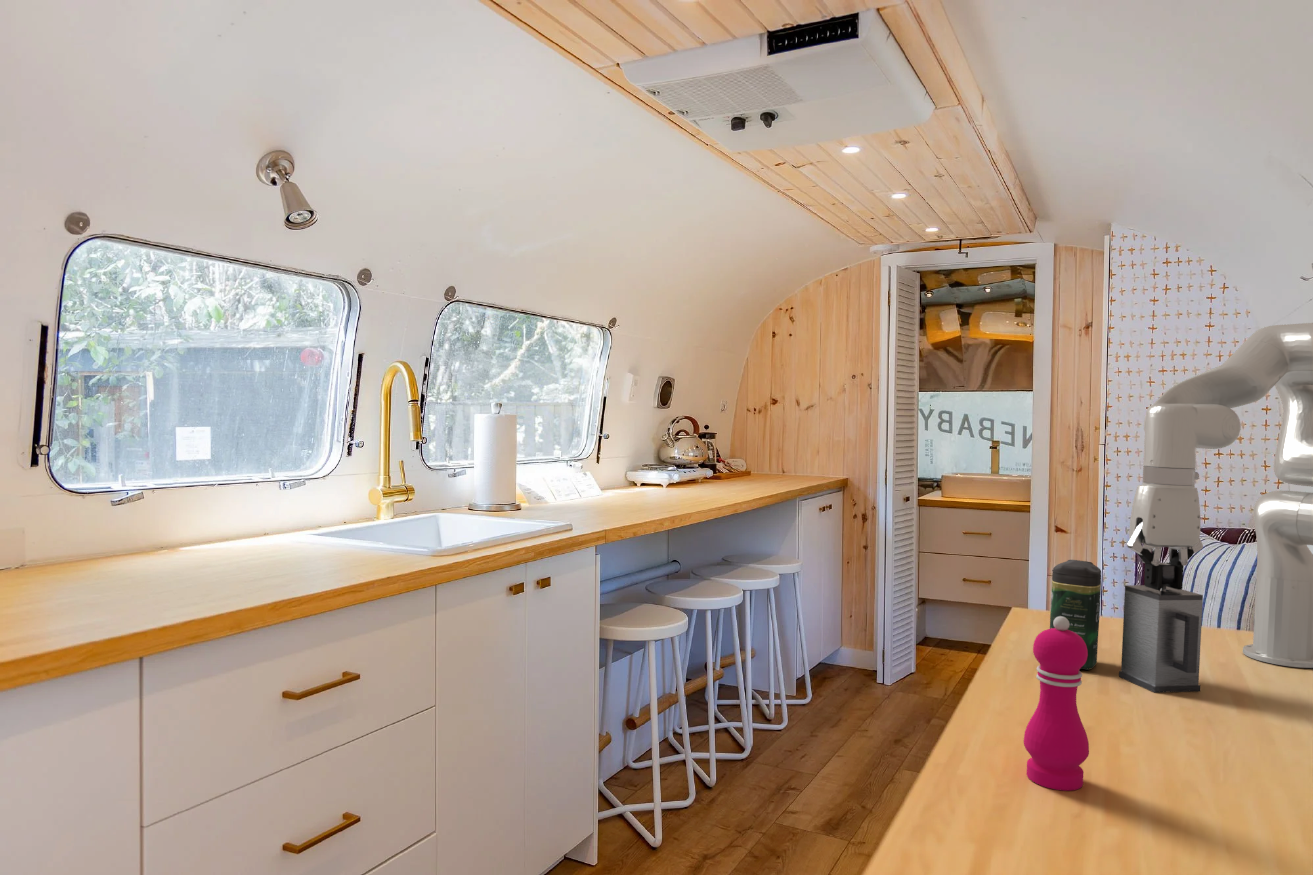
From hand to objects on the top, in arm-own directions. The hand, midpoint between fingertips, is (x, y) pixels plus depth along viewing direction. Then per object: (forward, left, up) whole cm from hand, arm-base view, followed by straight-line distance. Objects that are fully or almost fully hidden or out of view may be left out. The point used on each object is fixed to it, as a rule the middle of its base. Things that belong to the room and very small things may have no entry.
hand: (1163, 586), depth 146 cm
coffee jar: (+7, -12, -17) cm, 22 cm away
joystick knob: (0, 0, -10) cm, 10 cm away
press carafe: (0, +1, -16) cm, 16 cm away
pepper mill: (+42, +34, -17) cm, 57 cm away
